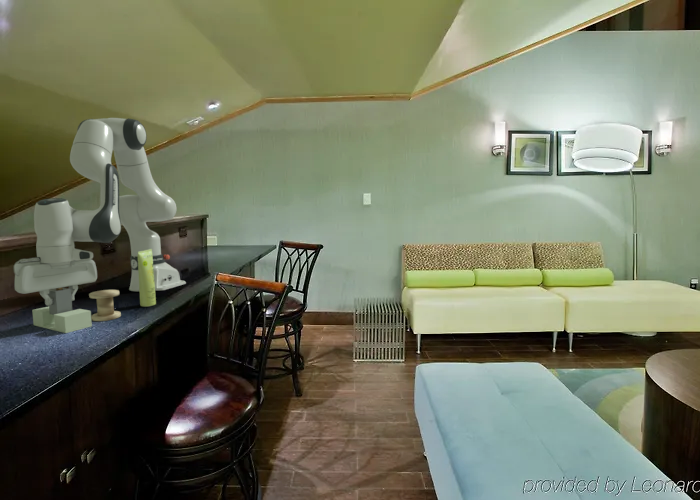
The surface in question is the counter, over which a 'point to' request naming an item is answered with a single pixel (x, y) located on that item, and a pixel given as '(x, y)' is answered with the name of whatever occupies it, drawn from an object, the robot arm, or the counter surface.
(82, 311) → the notch board
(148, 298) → the tube
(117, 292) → the bobbin
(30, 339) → the counter surface
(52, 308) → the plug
